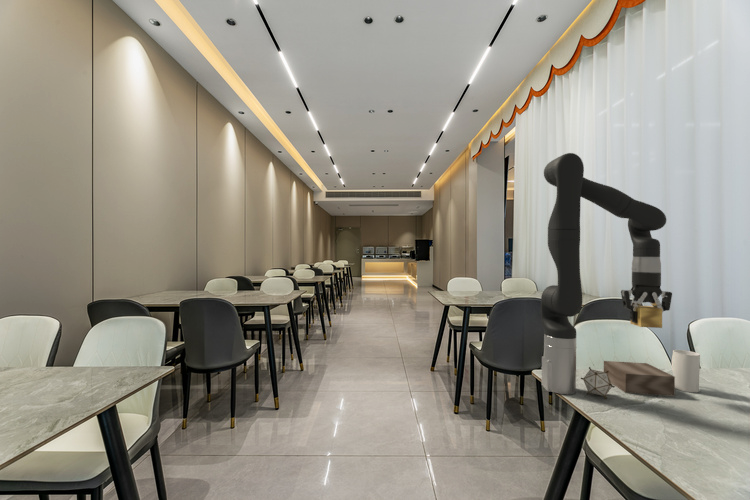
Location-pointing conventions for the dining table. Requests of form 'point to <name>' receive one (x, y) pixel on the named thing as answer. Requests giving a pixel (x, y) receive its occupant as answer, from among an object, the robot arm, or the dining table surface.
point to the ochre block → (649, 317)
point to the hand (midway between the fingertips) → (645, 322)
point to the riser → (640, 378)
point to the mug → (686, 370)
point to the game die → (597, 382)
